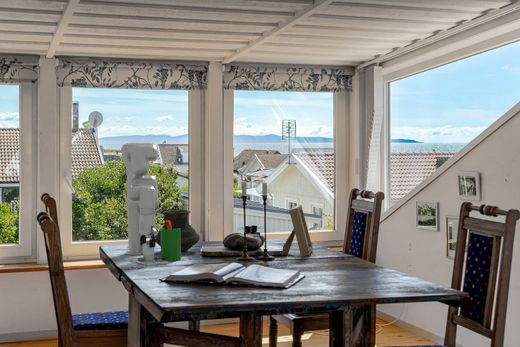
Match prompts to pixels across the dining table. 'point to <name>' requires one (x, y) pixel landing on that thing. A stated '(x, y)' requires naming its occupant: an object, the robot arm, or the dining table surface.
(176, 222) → the ceramic pot
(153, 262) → the clip bracket
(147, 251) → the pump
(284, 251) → the photo frame
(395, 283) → the dining table surface
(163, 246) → the motor
